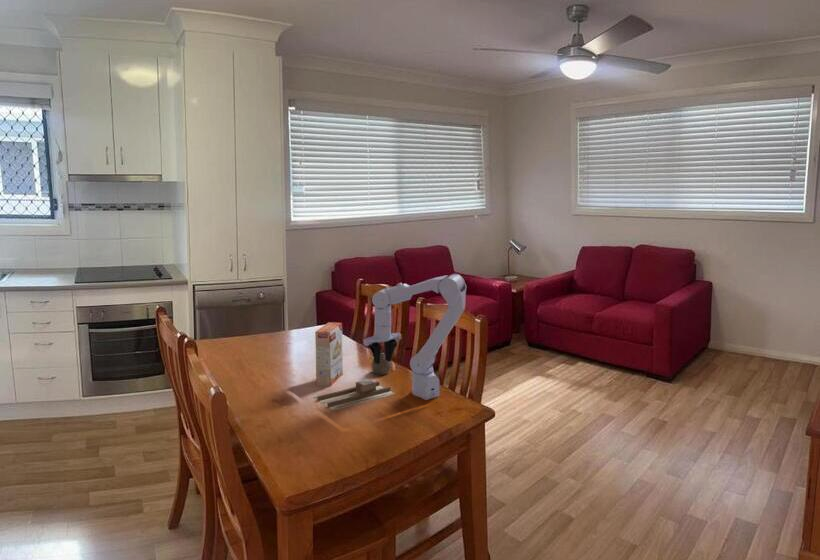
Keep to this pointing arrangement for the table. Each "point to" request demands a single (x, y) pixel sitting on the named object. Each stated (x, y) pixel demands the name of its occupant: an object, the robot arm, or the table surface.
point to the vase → (381, 365)
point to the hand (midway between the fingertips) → (382, 362)
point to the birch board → (352, 397)
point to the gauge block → (365, 386)
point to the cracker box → (328, 354)
